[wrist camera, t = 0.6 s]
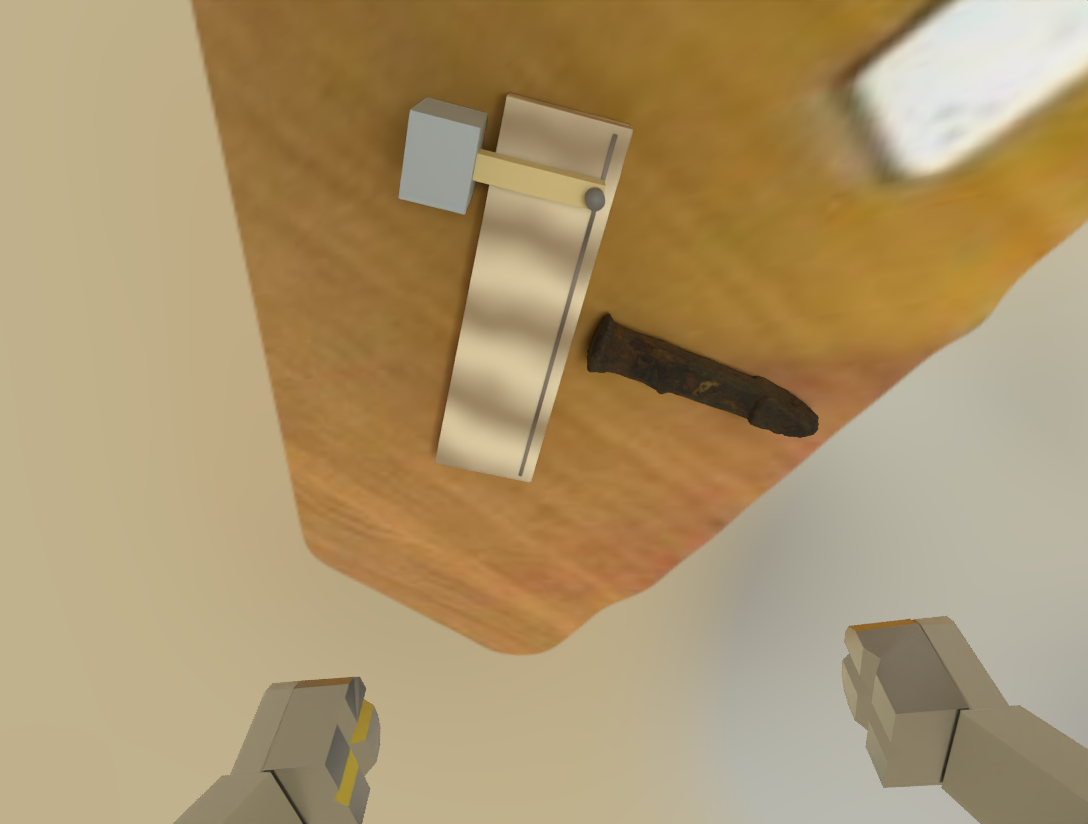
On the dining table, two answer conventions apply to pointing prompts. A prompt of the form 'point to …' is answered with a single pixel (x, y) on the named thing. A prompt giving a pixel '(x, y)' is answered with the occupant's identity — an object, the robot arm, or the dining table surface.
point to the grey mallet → (476, 164)
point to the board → (527, 291)
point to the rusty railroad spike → (698, 379)
